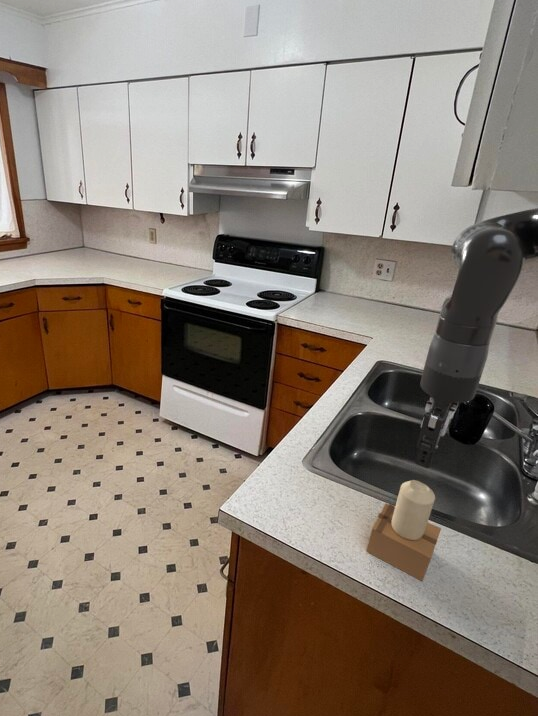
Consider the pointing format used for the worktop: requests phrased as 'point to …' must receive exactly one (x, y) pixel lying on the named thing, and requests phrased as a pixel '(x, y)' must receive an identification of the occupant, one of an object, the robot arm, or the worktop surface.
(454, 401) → the robot arm
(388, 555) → the cardboard box
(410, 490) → the candle
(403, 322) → the worktop surface
